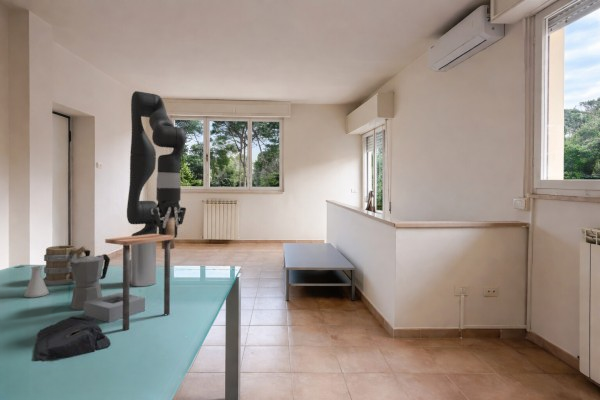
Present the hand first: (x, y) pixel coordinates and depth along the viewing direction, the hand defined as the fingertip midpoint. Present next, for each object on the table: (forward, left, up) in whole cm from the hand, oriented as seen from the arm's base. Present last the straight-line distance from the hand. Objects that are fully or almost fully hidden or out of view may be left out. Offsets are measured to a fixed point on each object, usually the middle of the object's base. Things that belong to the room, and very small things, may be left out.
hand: (168, 238), depth 123 cm
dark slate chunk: (+3, -33, -23) cm, 40 cm away
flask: (-46, -17, -22) cm, 54 cm away
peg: (0, 0, -3) cm, 3 cm away
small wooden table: (+6, -15, -22) cm, 27 cm away
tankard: (-55, -1, -22) cm, 59 cm away
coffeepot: (-20, -14, -22) cm, 33 cm away
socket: (-6, -15, -22) cm, 27 cm away
